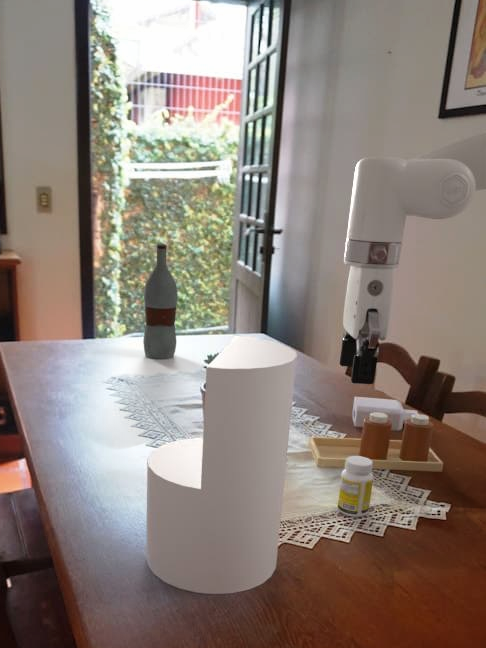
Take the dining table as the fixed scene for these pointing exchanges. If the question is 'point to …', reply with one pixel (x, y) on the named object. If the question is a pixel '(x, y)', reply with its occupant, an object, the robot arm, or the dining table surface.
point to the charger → (380, 411)
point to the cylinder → (225, 476)
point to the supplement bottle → (356, 487)
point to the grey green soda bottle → (160, 310)
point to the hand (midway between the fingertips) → (355, 374)
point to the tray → (340, 449)
